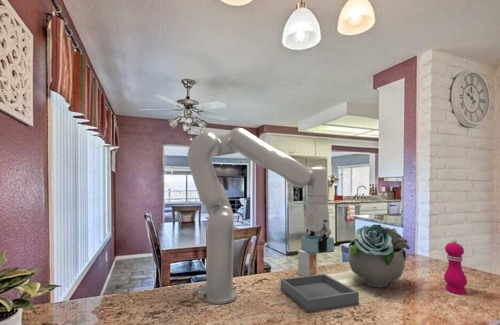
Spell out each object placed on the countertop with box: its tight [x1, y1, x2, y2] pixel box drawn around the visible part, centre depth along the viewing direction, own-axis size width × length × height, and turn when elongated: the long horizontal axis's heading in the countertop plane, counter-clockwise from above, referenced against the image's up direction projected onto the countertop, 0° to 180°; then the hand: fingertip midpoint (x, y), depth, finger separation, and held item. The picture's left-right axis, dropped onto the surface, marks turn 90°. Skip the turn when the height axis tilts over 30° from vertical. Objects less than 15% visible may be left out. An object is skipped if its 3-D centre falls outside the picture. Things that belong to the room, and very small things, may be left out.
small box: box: [297, 249, 317, 276], centre depth 128 cm, size 8×6×10 cm
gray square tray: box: [280, 273, 360, 314], centre depth 102 cm, size 20×20×4 cm
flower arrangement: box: [347, 224, 411, 288], centre depth 116 cm, size 25×25×24 cm
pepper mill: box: [443, 238, 468, 295], centre depth 109 cm, size 7×7×20 cm
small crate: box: [300, 234, 335, 255], centre depth 103 cm, size 10×6×5 cm, turn 110°
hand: (317, 248), depth 103 cm, fingers closed on small crate, 6 cm apart
